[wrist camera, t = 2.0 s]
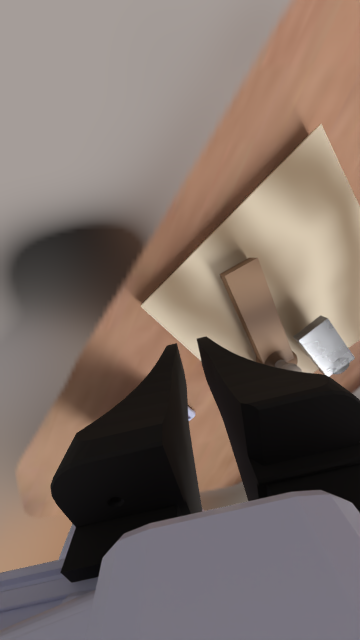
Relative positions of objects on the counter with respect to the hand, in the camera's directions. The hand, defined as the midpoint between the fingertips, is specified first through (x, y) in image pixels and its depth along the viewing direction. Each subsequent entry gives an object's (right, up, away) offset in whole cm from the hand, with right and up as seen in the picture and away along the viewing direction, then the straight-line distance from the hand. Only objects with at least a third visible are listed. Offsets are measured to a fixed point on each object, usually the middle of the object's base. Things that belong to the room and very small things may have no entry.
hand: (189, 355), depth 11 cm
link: (+7, +2, +7) cm, 11 cm away
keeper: (+13, 0, +9) cm, 16 cm away
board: (+10, +4, +8) cm, 13 cm away
